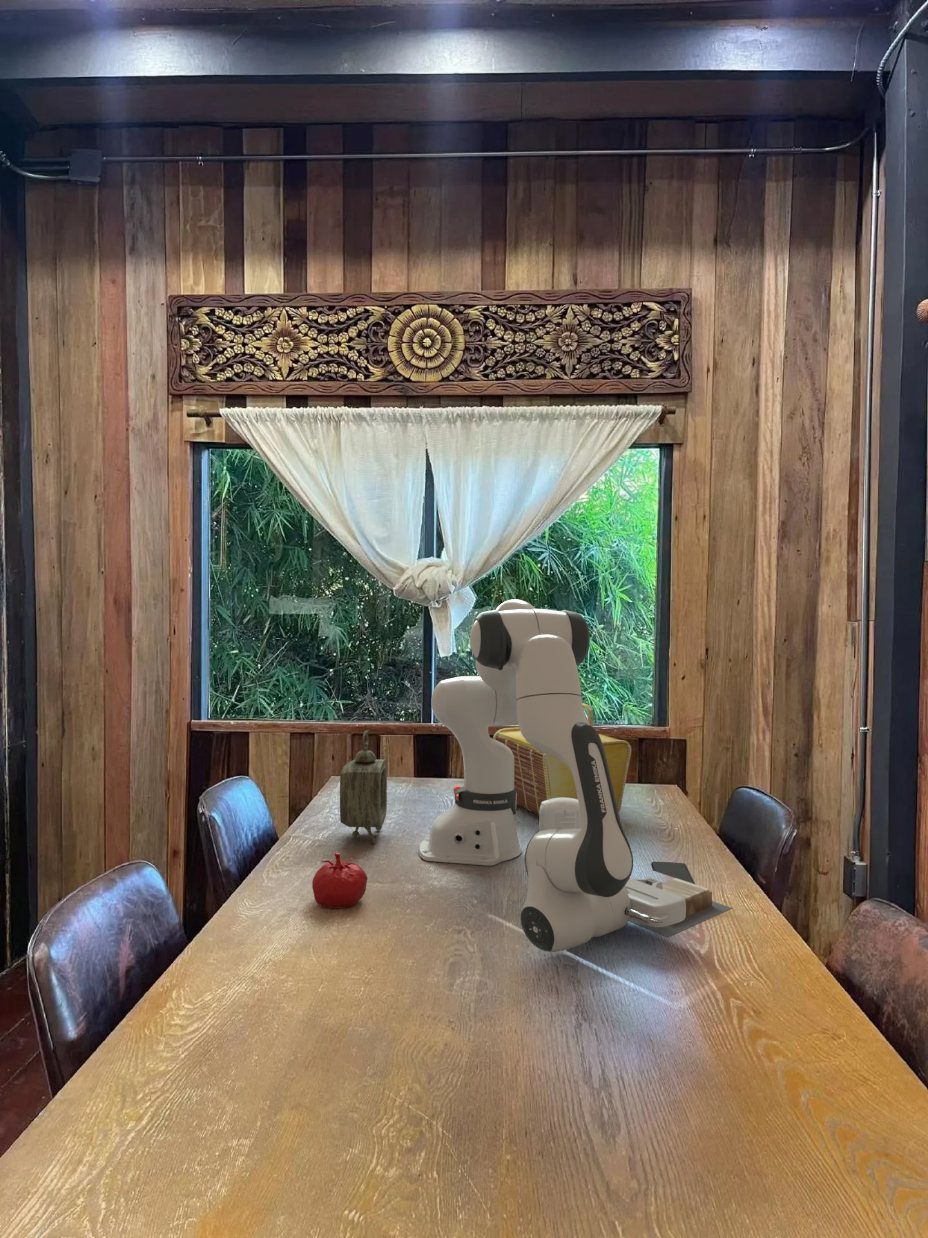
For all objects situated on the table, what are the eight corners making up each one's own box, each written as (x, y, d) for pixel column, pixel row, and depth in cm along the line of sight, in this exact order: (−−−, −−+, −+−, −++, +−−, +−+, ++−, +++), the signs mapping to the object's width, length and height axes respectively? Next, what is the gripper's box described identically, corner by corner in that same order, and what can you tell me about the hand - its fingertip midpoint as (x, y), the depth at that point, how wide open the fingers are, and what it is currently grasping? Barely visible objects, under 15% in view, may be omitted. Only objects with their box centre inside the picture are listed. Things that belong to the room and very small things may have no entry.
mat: (667, 940, 129) (667, 937, 129) (602, 913, 140) (602, 910, 140) (732, 911, 141) (732, 908, 141) (667, 888, 152) (667, 885, 152)
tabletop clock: (379, 848, 175) (379, 737, 174) (339, 847, 175) (338, 736, 174) (386, 828, 190) (387, 726, 189) (349, 828, 190) (349, 725, 189)
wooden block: (671, 906, 134) (712, 889, 142) (634, 892, 141) (675, 876, 148) (671, 923, 135) (711, 905, 142) (634, 908, 141) (674, 892, 148)
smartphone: (685, 863, 165) (697, 888, 151) (685, 867, 165) (697, 893, 151) (650, 861, 166) (658, 885, 152) (650, 865, 166) (657, 890, 152)
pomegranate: (356, 917, 139) (356, 865, 138) (303, 911, 141) (303, 860, 140) (374, 894, 148) (374, 846, 148) (324, 889, 150) (324, 842, 150)
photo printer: (581, 849, 175) (582, 794, 174) (587, 856, 170) (587, 800, 170) (536, 851, 173) (537, 796, 173) (541, 858, 169) (541, 801, 168)
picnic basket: (490, 803, 212) (490, 693, 211) (570, 793, 223) (571, 689, 222) (545, 834, 186) (546, 708, 185) (634, 821, 197) (635, 702, 196)
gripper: (655, 904, 121) (707, 883, 130) (559, 867, 137) (611, 851, 146) (655, 944, 121) (706, 921, 130) (559, 903, 137) (611, 885, 146)
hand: (655, 884), depth 138 cm, fingers closed
